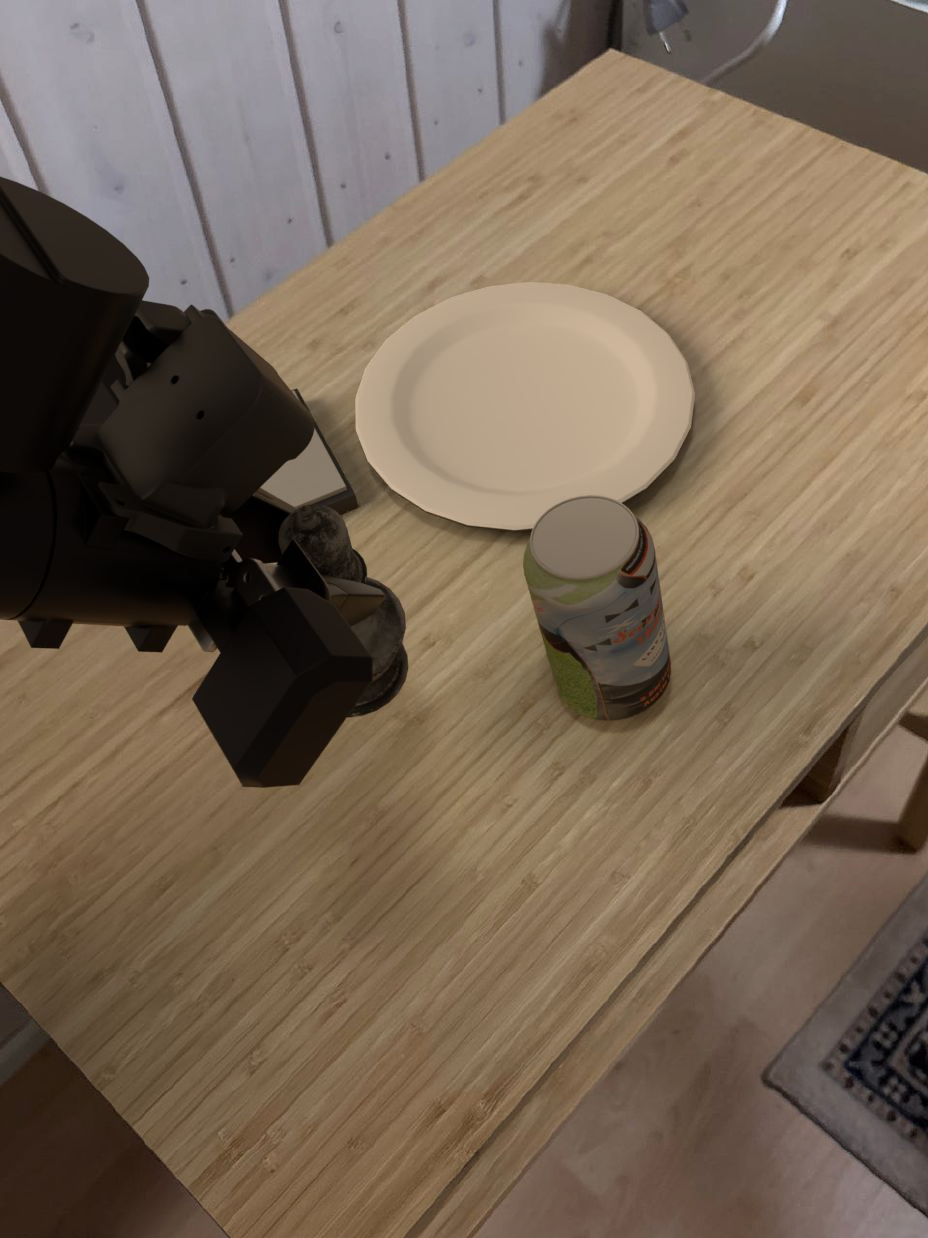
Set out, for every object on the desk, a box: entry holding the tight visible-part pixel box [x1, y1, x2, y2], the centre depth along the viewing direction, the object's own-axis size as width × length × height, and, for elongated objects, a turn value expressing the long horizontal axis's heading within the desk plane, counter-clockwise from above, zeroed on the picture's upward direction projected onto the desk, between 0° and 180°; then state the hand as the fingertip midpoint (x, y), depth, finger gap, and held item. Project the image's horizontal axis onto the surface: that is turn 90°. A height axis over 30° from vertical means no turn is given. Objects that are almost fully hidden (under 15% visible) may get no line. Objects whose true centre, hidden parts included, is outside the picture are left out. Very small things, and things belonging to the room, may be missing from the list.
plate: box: [354, 281, 696, 533], centre depth 71 cm, size 21×21×2 cm
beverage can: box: [522, 495, 672, 722], centre depth 55 cm, size 6×7×12 cm
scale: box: [260, 387, 359, 516], centre depth 69 cm, size 11×10×2 cm
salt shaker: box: [279, 504, 409, 719], centre depth 49 cm, size 6×6×12 cm
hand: (356, 572), depth 49 cm, fingers closed on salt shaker, 3 cm apart
